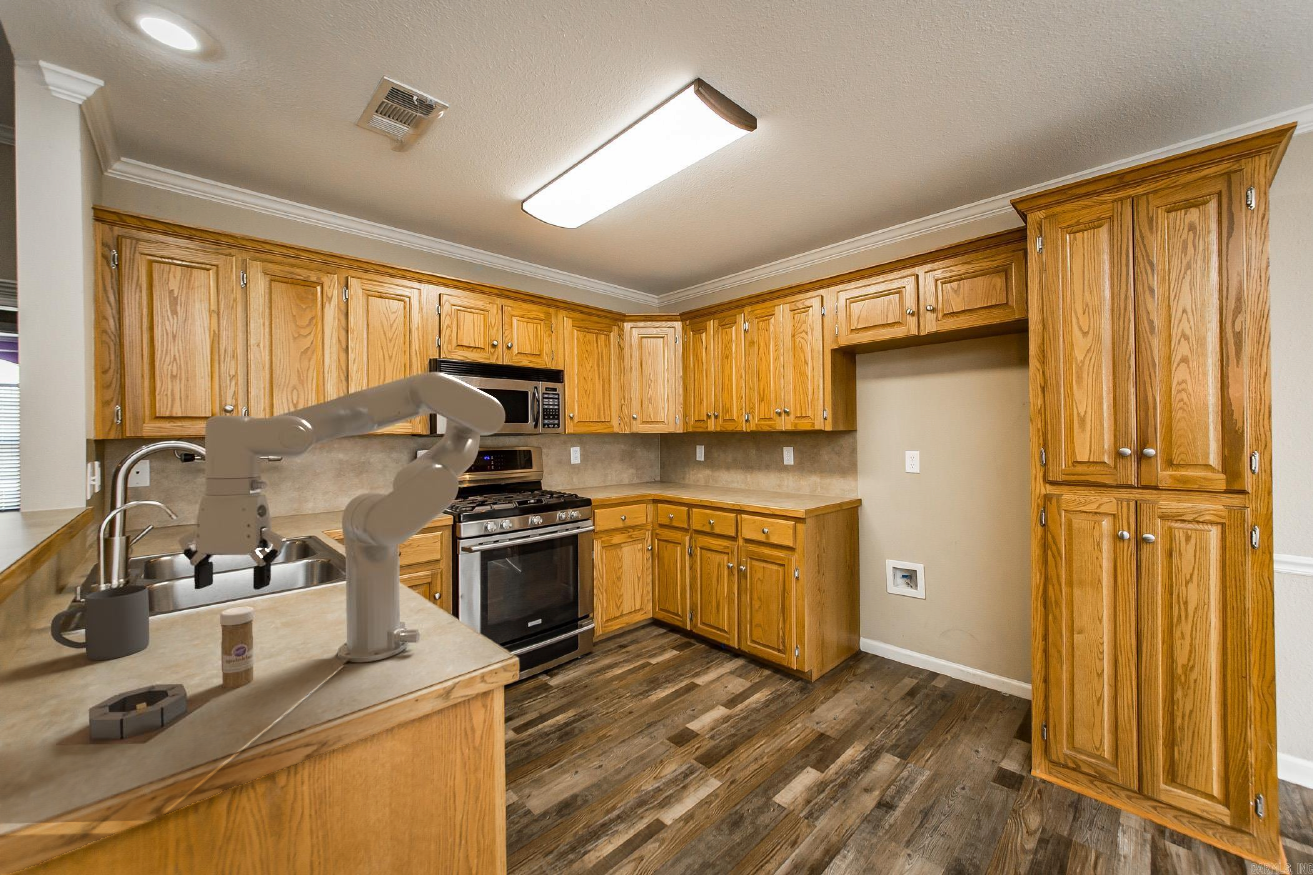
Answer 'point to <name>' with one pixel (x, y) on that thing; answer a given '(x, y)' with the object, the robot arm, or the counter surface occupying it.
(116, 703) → the ring
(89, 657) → the mug
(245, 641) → the sprinkles bottle
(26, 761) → the counter surface
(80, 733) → the walnut board
